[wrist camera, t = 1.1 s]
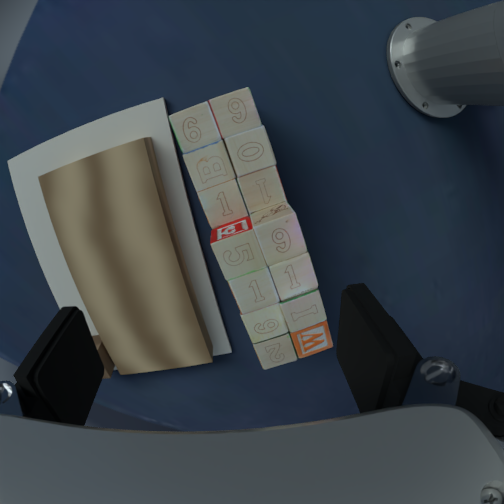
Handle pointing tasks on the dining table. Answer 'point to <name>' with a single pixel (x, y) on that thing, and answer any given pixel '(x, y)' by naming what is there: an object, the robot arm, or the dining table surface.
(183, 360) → the oak plinth
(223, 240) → the stack of blocks
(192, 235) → the cream tile
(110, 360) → the walnut cube
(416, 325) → the dining table surface
